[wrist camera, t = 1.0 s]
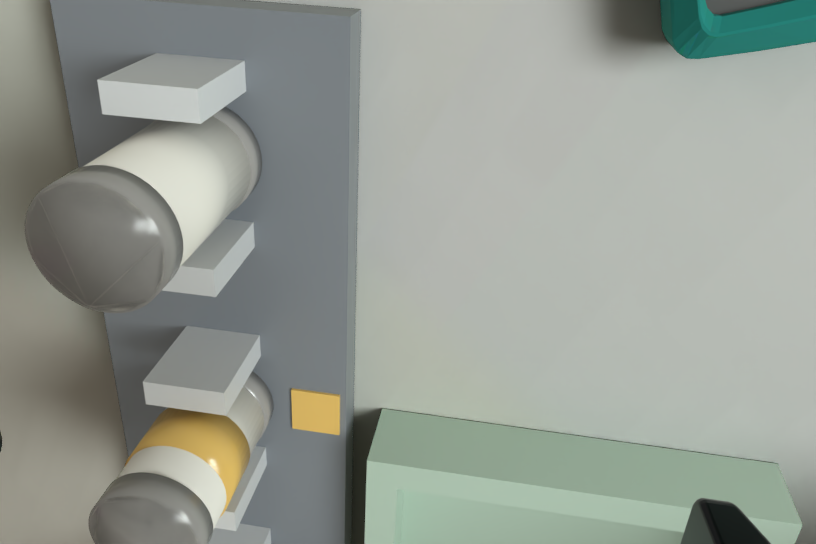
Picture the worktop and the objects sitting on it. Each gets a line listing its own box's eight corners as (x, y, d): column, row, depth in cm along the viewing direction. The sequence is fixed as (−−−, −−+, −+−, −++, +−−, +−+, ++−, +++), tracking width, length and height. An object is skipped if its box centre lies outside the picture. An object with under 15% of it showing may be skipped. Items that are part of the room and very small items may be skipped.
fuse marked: (272, 366, 24) (196, 504, 18) (275, 441, 25) (206, 588, 20) (179, 353, 24) (79, 485, 19) (188, 428, 25) (97, 569, 20)
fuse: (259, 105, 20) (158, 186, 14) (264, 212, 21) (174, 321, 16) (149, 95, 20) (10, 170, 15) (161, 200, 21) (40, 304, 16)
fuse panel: (360, 9, 19) (319, 39, 16) (349, 630, 31) (324, 730, 27) (74, -13, 20) (-30, 10, 16) (169, 598, 32) (121, 691, 28)
